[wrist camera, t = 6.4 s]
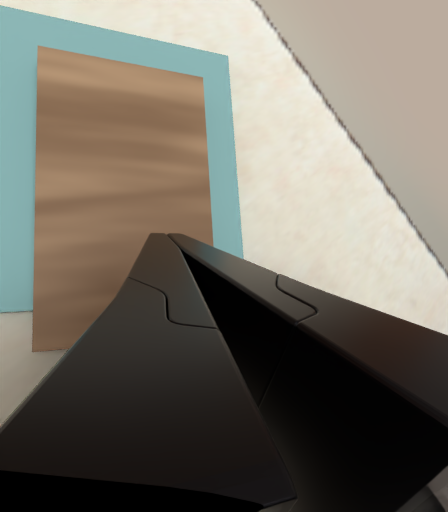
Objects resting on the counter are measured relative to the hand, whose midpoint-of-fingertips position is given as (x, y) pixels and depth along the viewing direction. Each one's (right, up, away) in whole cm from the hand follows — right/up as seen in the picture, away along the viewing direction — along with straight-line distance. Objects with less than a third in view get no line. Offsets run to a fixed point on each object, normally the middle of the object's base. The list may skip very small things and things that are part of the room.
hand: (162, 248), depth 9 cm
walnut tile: (-2, -4, +5) cm, 7 cm away
